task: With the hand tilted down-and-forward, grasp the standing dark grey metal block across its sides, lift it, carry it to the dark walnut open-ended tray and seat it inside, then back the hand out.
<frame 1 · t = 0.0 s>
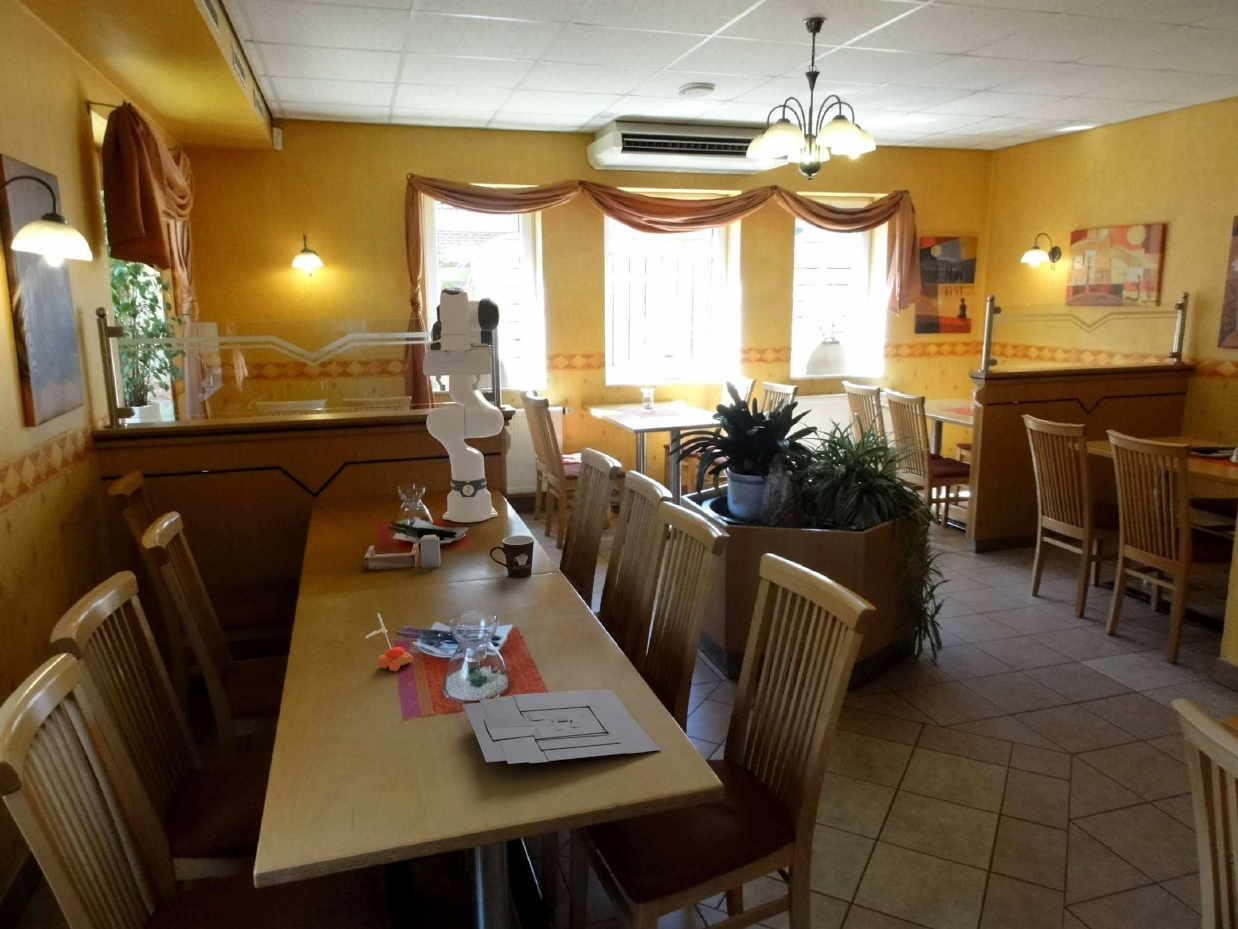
hand: (459, 390, 251), 48 cm above the table, tool pointing down, fingers open, 8 cm apart
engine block: (431, 565, 241), on the table
coffee mug: (514, 575, 233), on the table
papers: (557, 736, 149), on the table
bay: (393, 561, 246), on the table
orange flower: (390, 668, 177), on the table
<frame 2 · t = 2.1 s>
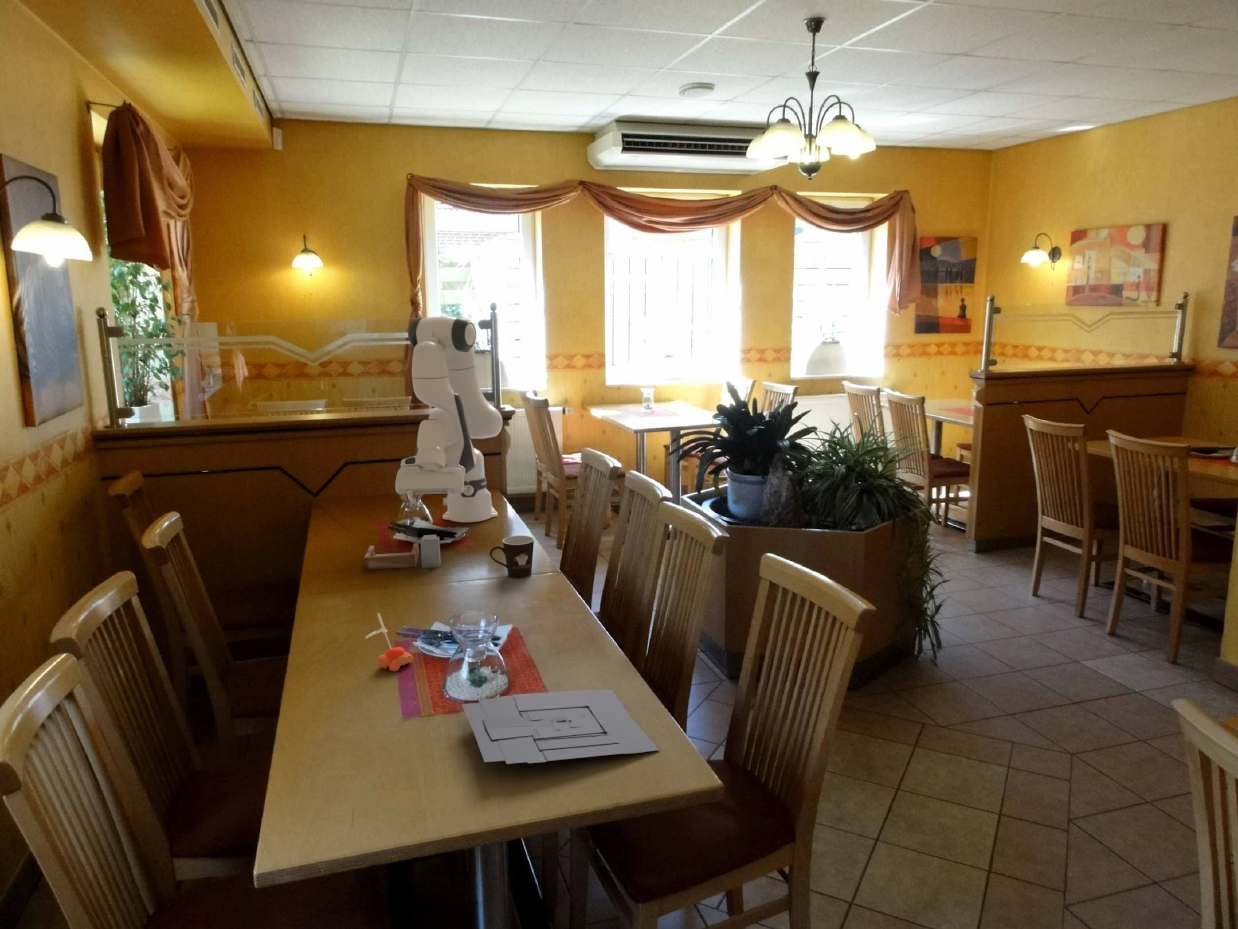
hand: (429, 505, 248), 15 cm above the table, tool tilted 45°, fingers open, 8 cm apart
nothing on the table moved.
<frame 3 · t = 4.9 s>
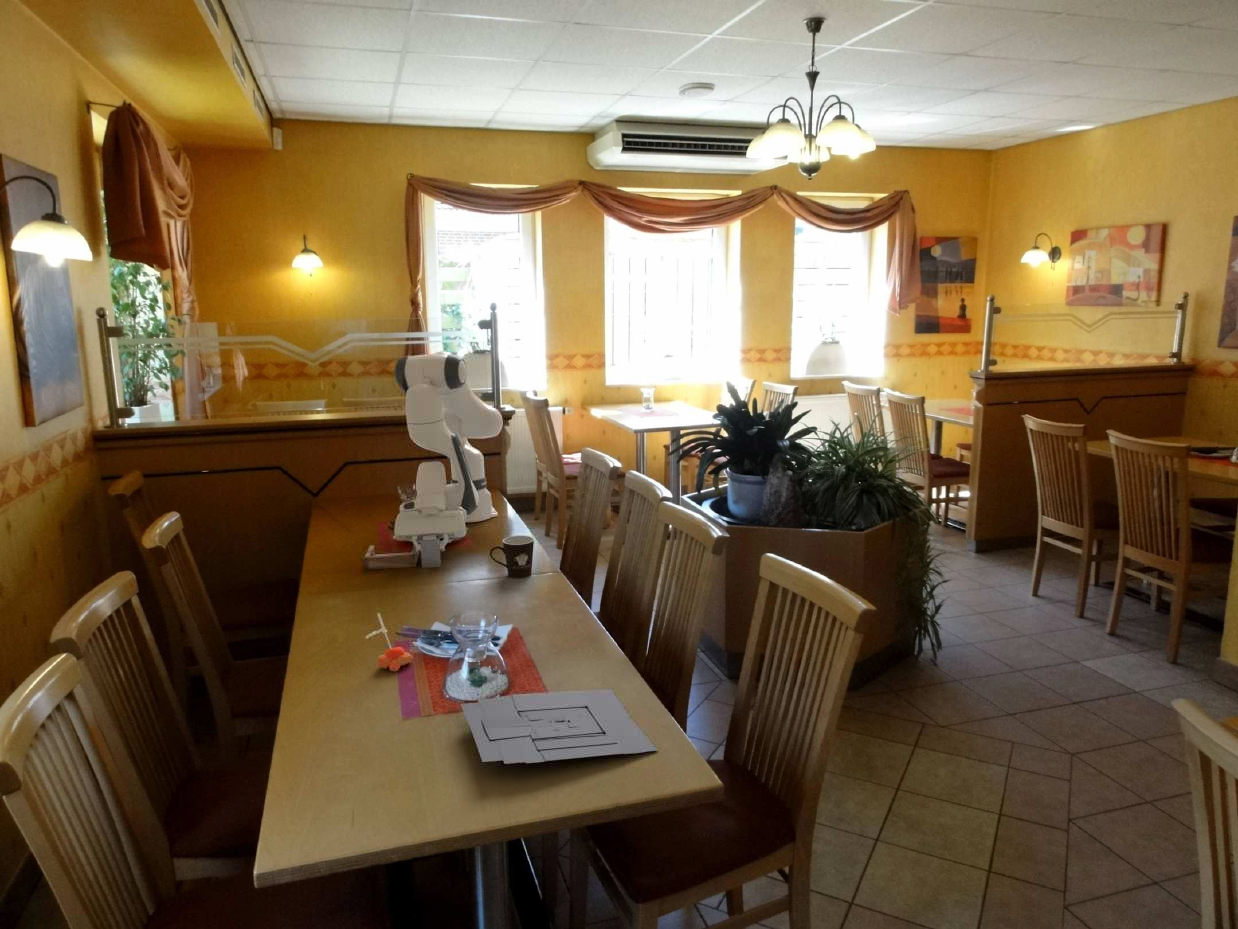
hand: (430, 550, 240), 5 cm above the table, tool tilted 45°, fingers closed on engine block, 5 cm apart
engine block: (431, 565, 241), on the table, touching gripper
everything else where it was.
when the fingers open (6 cm above the table, at t = 9.9 s): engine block drops 1 cm, resting on bay.
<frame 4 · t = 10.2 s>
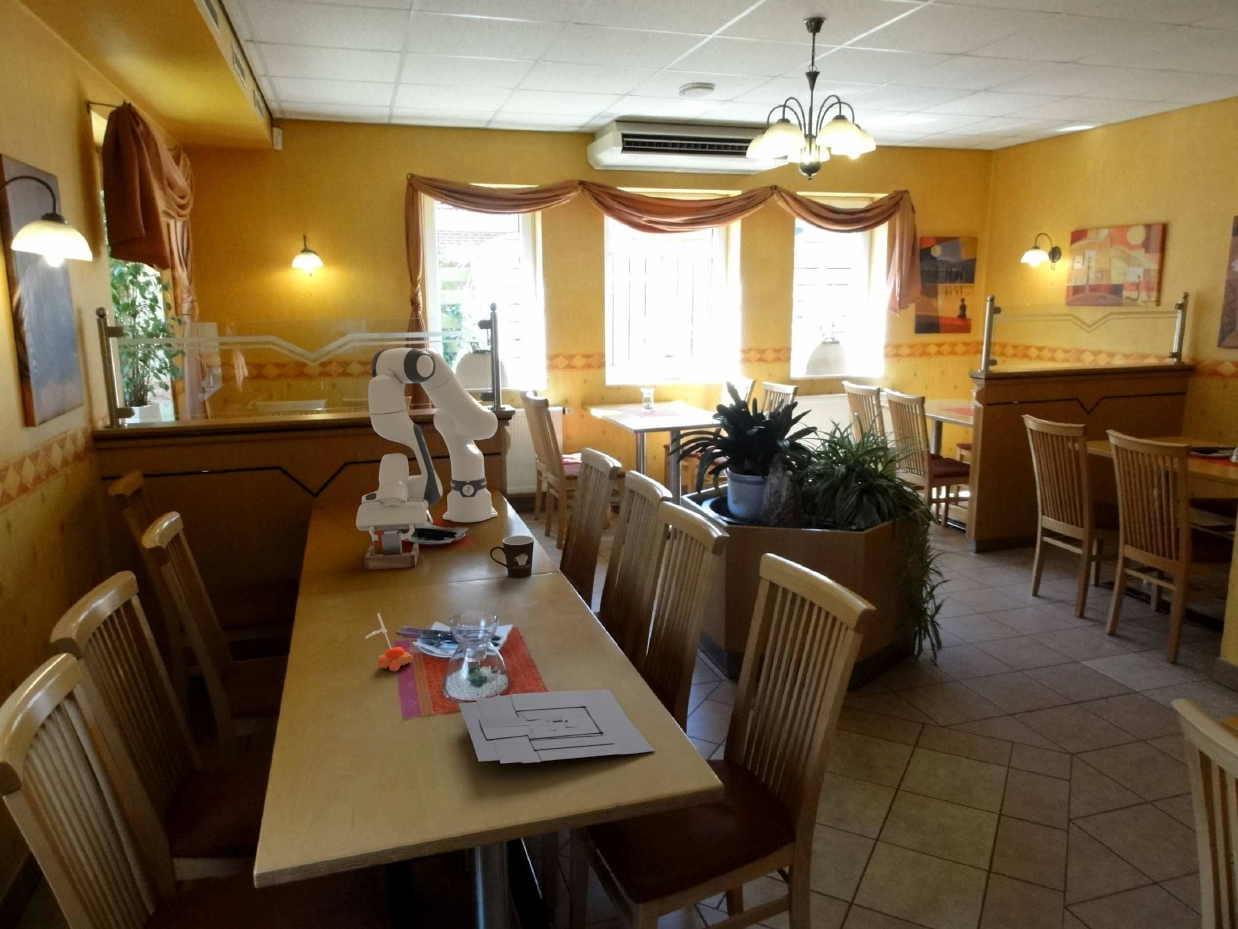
hand: (391, 541, 244), 6 cm above the table, tool tilted 45°, fingers open, 8 cm apart
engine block: (393, 559, 245), point 1 cm above the table, touching bay
everything else where it was.
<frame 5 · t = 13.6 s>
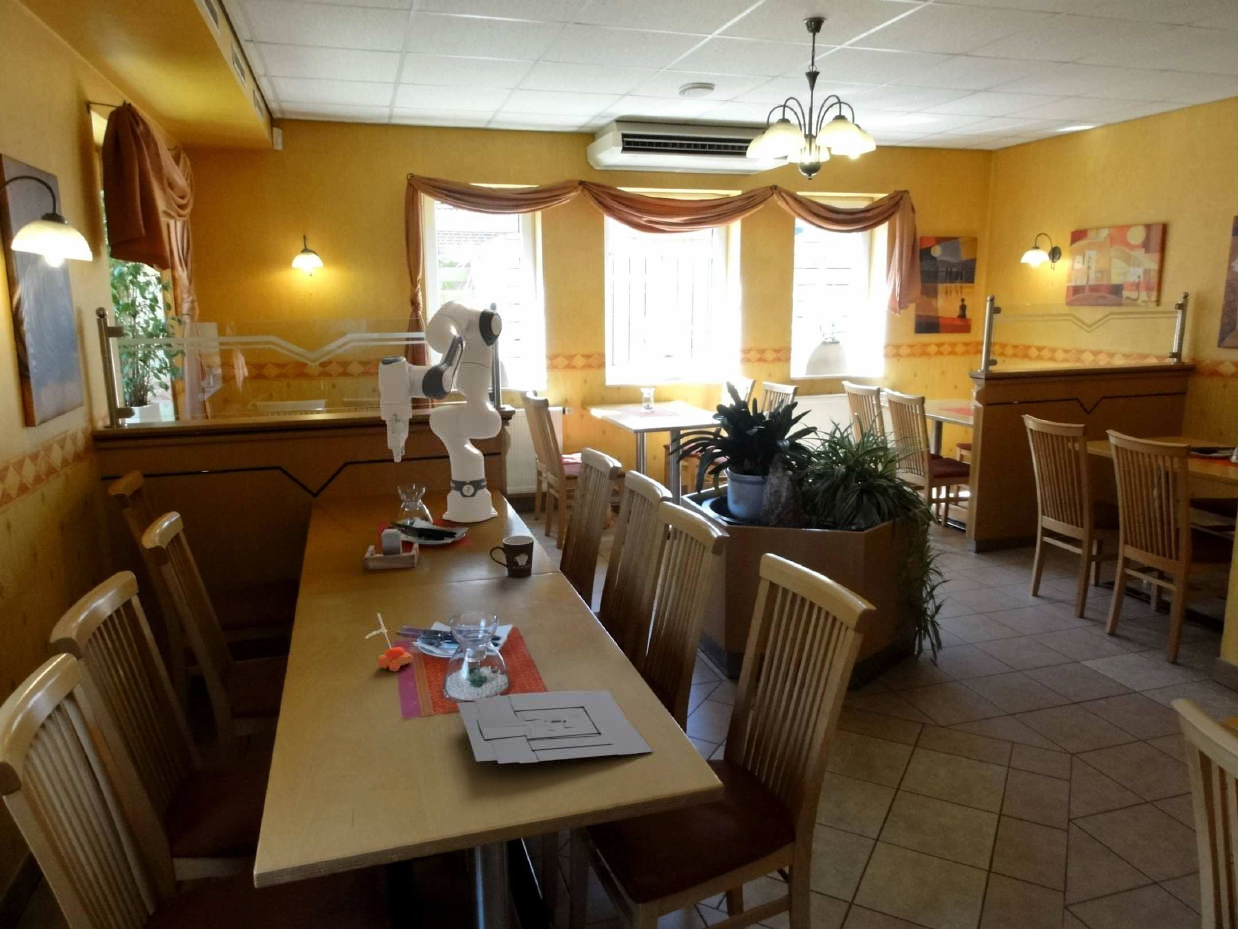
hand: (399, 458, 250), 29 cm above the table, tool pointing down, fingers open, 8 cm apart
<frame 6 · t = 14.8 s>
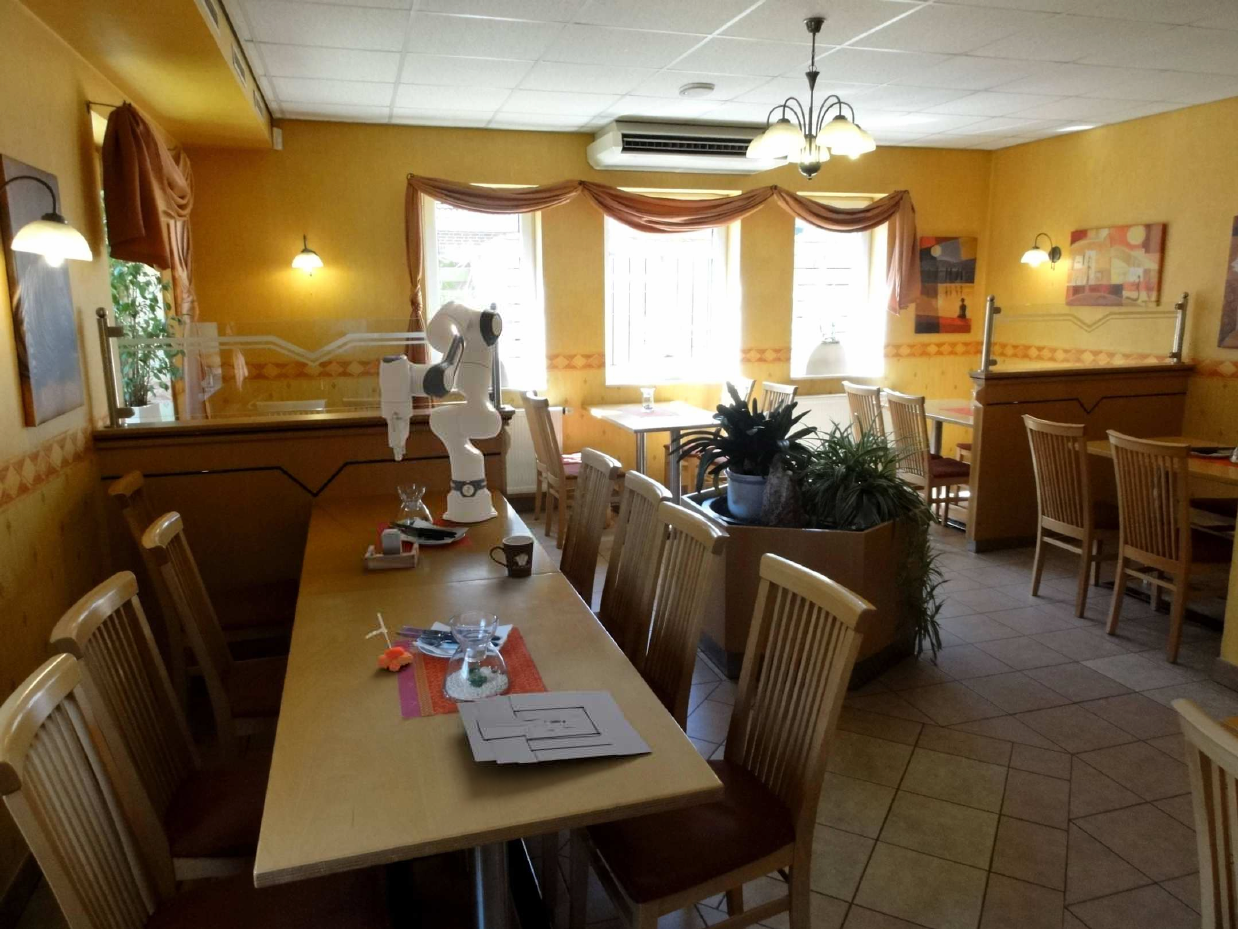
hand: (400, 456, 250), 29 cm above the table, tool pointing down, fingers open, 8 cm apart
at the end: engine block inside the target area on the bay (0.5 cm from its centre), point 0.6 cm above the bay's base; the gripper is holding nothing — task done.
